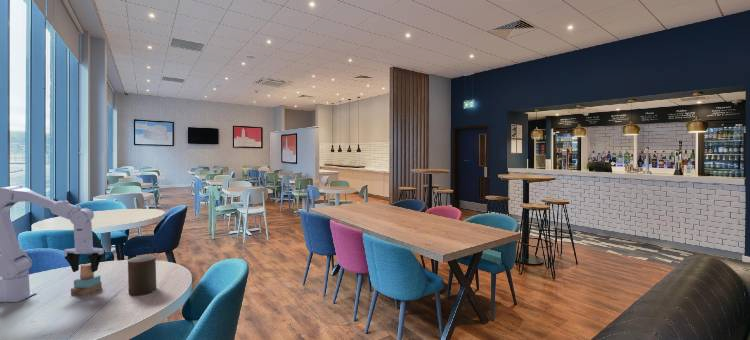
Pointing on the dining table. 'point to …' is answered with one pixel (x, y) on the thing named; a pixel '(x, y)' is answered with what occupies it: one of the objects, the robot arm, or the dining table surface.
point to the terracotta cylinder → (86, 271)
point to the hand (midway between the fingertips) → (85, 271)
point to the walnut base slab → (85, 290)
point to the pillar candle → (141, 275)
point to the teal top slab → (87, 282)
